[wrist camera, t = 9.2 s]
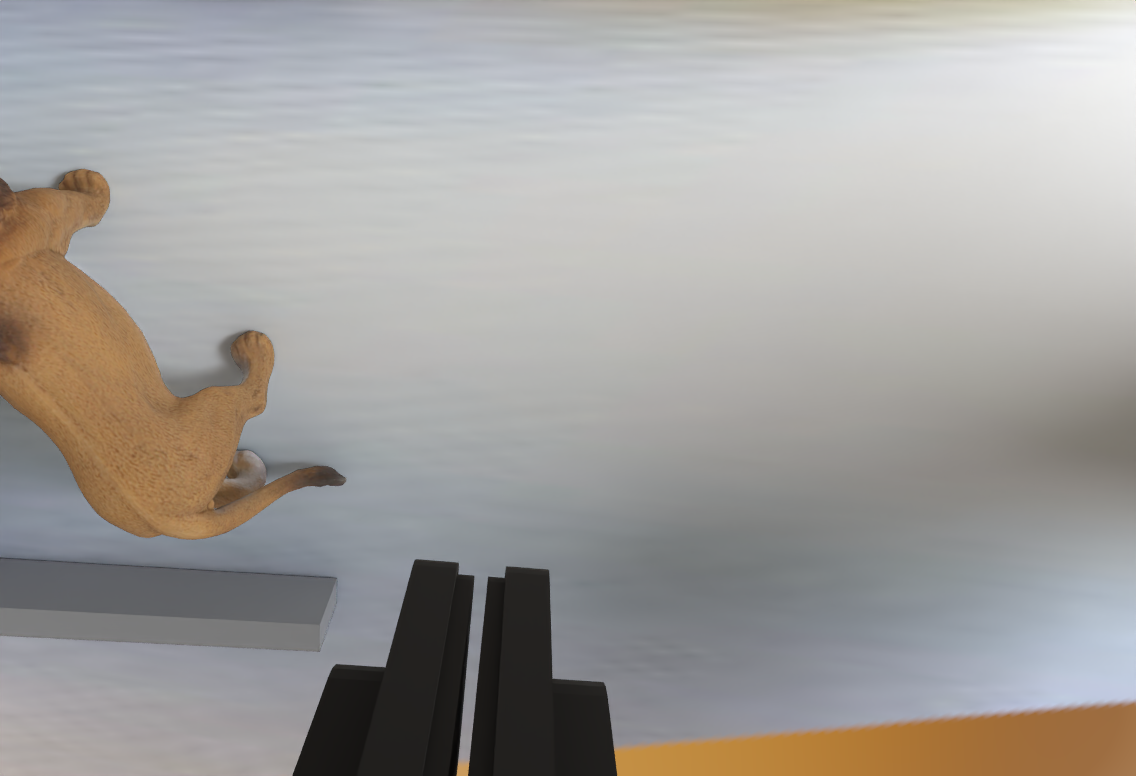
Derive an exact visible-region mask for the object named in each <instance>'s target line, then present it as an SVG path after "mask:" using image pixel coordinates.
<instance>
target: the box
mask: <svg viewBox="0 0 1136 776" xmlns="http://www.w3.org/2000/svg"><path fill="white" fill-rule="evenodd" d="M336 604H337V578H323V577H306V576H289V575H273V574H256V573H239V572H222V571H206V570H189V569H172V568H156V567H139V566H122V565H105V564H89V563H72V562H55V561H38V560H22V559H5V558H0V636H17V637H37V638H56V639H76V640H96V641H116V642H136V643H156V644H176V645H196V646H215V647H235V648H255V649H275V650H295V651H315V652H320V649H321V646H322V643H323V641H324V638H325V635H326V632H327V629H328V626H329V623H330V621H331V618H332V615H333V612H334V609H335V606H336Z"/></svg>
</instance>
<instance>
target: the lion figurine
mask: <svg viewBox="0 0 1136 776" xmlns="http://www.w3.org/2000/svg"><path fill="white" fill-rule="evenodd" d="M58 188H59V190H57V189H51V188H33V189H29V190H24V191H20V192H13V191H12V190H11V189H10V188H9V186H8V184H7V183H6V182H5V181H4V180H2V179H1V178H0V395H1V396H2V397H3V398H4V399H5V400H6V401H7V402H9V403H10V404H11V405H12V406H13V407H14V408H15V409H16V410H18V411H19V412H21V413H22V414H23V415H25V416H26V417H28V418H29V419H30V420H32V421H33V422H34V423H35V424H36V425H37V426H39V427H40V428H41V429H42V430H43V431H44V432H45V433H46V434H47V435H48V436H49V437H50V439H51V440H52V441H53V442H54V443H55V444H56V446H57V447H58V448H59V449H60V451H61V452H62V454H63V456H64V457H65V459H66V461H67V463H68V465H69V467H70V469H71V471H72V473H73V475H74V478H75V480H76V482H77V484H78V486H79V488H80V490H81V492H82V493H83V495H84V497H85V498H86V500H87V501H88V502H89V504H90V505H91V506H92V508H93V509H94V510H95V511H96V512H97V514H99V515H100V516H101V517H102V518H103V519H105V520H106V521H108V522H109V523H111V524H113V525H115V526H117V527H119V528H121V529H123V530H125V531H127V532H129V533H131V534H134V535H136V536H139V537H145V538H150V537H155V536H158V535H161V534H163V535H166V536H170V537H175V538H179V539H191V540H193V539H203V538H209V537H213V536H217V535H220V534H223V533H226V532H228V531H230V530H232V529H234V528H236V527H238V526H239V525H241V524H243V523H245V522H246V521H248V520H249V519H251V518H252V517H253V516H255V515H256V514H257V513H259V512H260V511H262V510H263V509H265V508H266V507H267V506H269V505H270V504H271V503H273V502H274V501H275V500H277V499H278V498H280V497H281V496H283V495H284V494H286V493H288V492H291V491H294V490H297V489H300V488H303V487H306V486H317V487H321V486H326V485H330V486H341V485H343V484H344V483H345V482H346V478H345V477H343V476H342V475H340V474H339V473H338V472H337V471H336V470H334V469H333V468H331V467H328V466H314V467H311V468H305V469H300V470H296V471H294V472H292V473H290V474H288V475H286V476H284V477H281V478H279V479H277V480H275V481H273V482H271V483H269V484H268V485H266V486H264V485H265V482H266V474H267V471H266V468H265V465H264V463H263V462H262V460H261V459H260V458H259V457H258V456H257V455H256V454H255V453H253V452H252V451H249V450H243V451H236V450H237V446H238V443H239V439H240V436H241V432H242V429H243V426H244V424H245V423H246V421H247V420H248V419H250V418H252V417H255V416H257V415H259V414H261V413H262V412H263V411H264V409H265V407H266V402H267V387H268V382H269V378H270V375H271V373H272V369H273V365H274V350H273V346H272V344H271V341H270V340H269V338H268V337H267V336H266V335H265V334H263V333H260V332H256V331H248V332H246V333H244V334H242V335H241V336H239V337H238V338H237V339H236V340H235V341H234V342H233V343H232V345H231V355H232V357H233V359H234V361H235V362H236V364H237V365H238V366H239V368H240V369H241V371H242V373H243V380H242V383H241V384H240V385H237V386H211V387H208V388H205V389H203V390H201V391H199V392H198V393H196V394H194V395H192V396H189V397H185V398H179V397H176V396H174V395H173V394H172V393H171V392H170V391H169V390H168V388H167V387H166V386H165V384H164V383H163V380H162V378H161V374H160V371H159V369H158V367H157V364H156V361H155V358H154V356H153V354H152V352H151V350H150V348H149V346H148V344H147V341H146V339H145V337H144V335H143V333H142V331H141V330H140V329H139V327H138V326H137V325H136V324H135V322H134V321H133V320H132V318H131V317H130V316H129V314H128V313H127V312H126V310H125V309H124V308H123V307H122V306H121V305H120V304H119V303H118V302H117V301H116V300H115V299H114V298H113V297H112V296H111V295H110V294H109V293H108V292H107V291H106V290H105V289H104V288H102V287H101V286H100V285H99V284H97V283H96V282H95V281H94V280H92V279H91V278H90V277H89V276H87V275H86V274H85V273H84V272H82V271H81V270H80V269H78V268H77V267H75V266H74V265H73V264H71V263H70V262H68V261H67V260H66V259H65V258H64V256H65V254H66V252H67V250H68V247H69V243H70V239H71V236H72V235H73V233H75V232H76V231H78V230H80V229H82V228H85V227H93V226H96V225H97V224H98V223H99V222H100V220H101V218H102V217H103V215H104V214H105V212H106V210H107V209H108V207H109V202H110V190H109V186H108V184H107V182H106V180H105V179H104V178H103V176H102V175H101V174H99V173H98V172H94V171H90V170H86V169H80V170H76V171H72V172H69V173H67V174H66V175H65V177H64V179H63V181H62V182H61V183H59V187H58ZM226 475H227V477H228V478H229V479H228V478H226ZM214 508H217V509H214Z"/></svg>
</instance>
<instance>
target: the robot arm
mask: <svg viewBox="0 0 1136 776" xmlns="http://www.w3.org/2000/svg"><path fill="white" fill-rule="evenodd" d="M458 571H459V563H456V562H444V561H431V560H418V559H416V560H415V561H414V564H413V567H412V571H411V575H410V578H409V582H408V586H407V590H406V593H405V597H404V601H403V604H402V608H401V612H400V616H399V619H398V623H397V627H396V631H395V634H394V638H393V642H392V646H391V649H390V653H389V657H388V661H387V664H386V668H385V667H370V666H355V665H341V664H336V665H335V666H334V667H333V668H332V670H331V672H330V675H329V677H328V679H327V682H326V685H325V688H324V690H323V693H322V696H321V699H320V701H319V704H318V707H317V710H316V712H315V715H314V718H313V721H312V723H311V726H310V729H309V732H308V734H307V737H306V740H305V743H304V745H303V748H302V751H301V754H300V756H299V759H298V762H297V765H296V767H295V770H294V773H293V776H456V775H457V766H458V757H459V747H460V736H461V724H462V713H463V702H464V690H465V679H466V668H467V656H468V645H469V634H470V622H471V611H472V599H473V588H474V576H472V575H459V574H458ZM468 776H617V771H616V762H615V754H614V746H613V737H612V729H611V721H610V713H609V704H608V696H607V691H606V686H605V684H604V682H591V681H576V680H561V679H552V650H551V614H550V579H549V570H546V569H533V568H520V567H507V566H506V572H505V578H498V577H488V585H487V594H486V604H485V614H484V624H483V634H482V644H481V654H480V663H479V673H478V683H477V693H476V703H475V713H474V723H473V733H472V742H471V752H470V762H469V773H468Z"/></svg>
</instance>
